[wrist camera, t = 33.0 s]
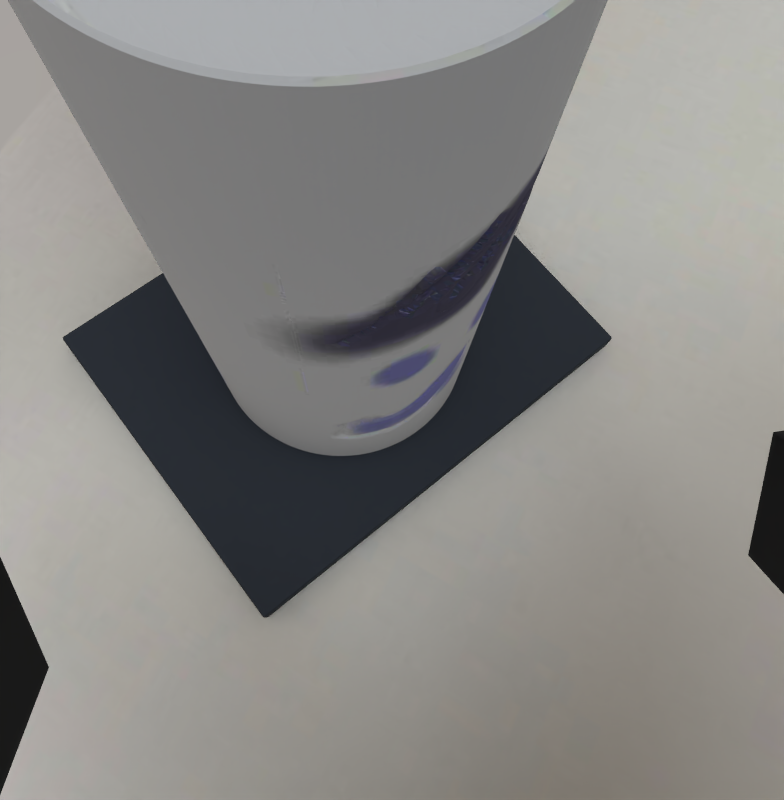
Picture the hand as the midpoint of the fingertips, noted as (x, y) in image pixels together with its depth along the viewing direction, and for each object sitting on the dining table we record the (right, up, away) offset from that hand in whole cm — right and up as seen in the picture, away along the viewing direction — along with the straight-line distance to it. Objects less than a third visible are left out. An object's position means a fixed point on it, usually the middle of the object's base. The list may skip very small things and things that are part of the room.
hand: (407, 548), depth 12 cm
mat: (-2, +5, +17) cm, 18 cm away
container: (-2, +5, +17) cm, 18 cm away
